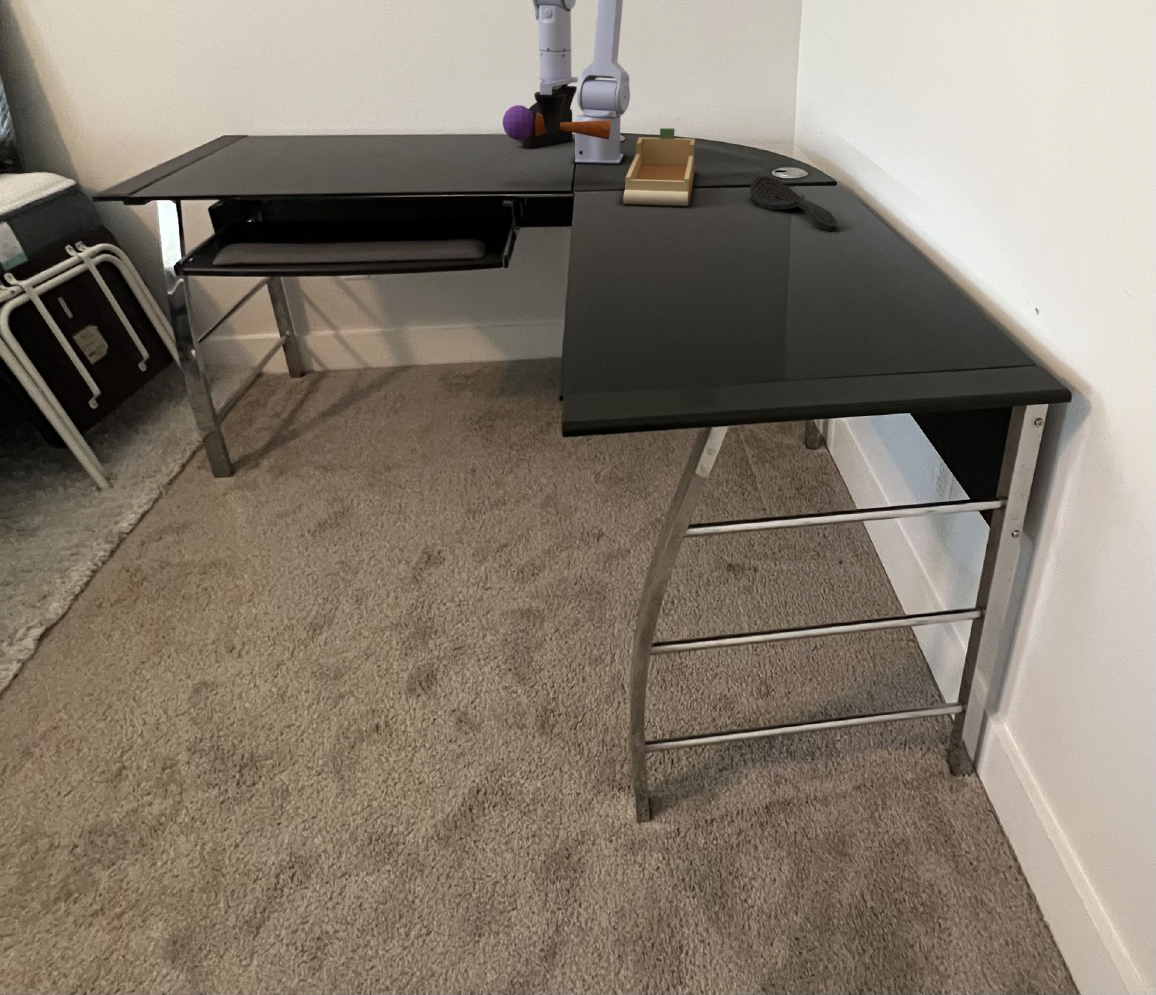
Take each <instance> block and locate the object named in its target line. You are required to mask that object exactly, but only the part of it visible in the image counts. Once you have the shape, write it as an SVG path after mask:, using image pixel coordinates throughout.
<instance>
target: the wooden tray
mask: <svg viewBox="0 0 1156 995" xmlns="http://www.w3.org/2000/svg"><path fill="white" fill-rule="evenodd" d="M675 131H676V130H675V128H673V127H672V128H671V127H670V128H669V127H660V128H659V137H647V136H646V137H642V136H641V137H638V139H637V141H636V144H635V145H636V146H635V147H636V148H635V156H634V158H633V160H632V162H631V164H630V166H629V169H628V171H627V174H626V176H625V182H624V183H625V185H624V188H625V189H624V192H623V194H622V204H623V205H637V206H639V205H640V206H644V205H645V206H664V207H666V206H667V207H668V206H669V207H689V206H690V204H691V203H690V202H691V197H692V190H693V184H694V179H695V173H696V164H694V162H695V145H696V138H684V137H683V138H679V137H678V138H677V137H675Z"/></svg>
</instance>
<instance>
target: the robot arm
mask: <svg viewBox="0 0 1156 995" xmlns="http://www.w3.org/2000/svg"><path fill="white" fill-rule="evenodd" d="M576 2H577V0H532V4H533V7H534V14H535V15H534V16H535V20H536V21H537V22H538V51H539V52H538V53H539V55H538V57H539V77H538V83H539V91H535V92H534V100H535V101H536V102H537V103H538V105H539V108H540V110H541V113H542V117H543V121H544V126H545V130H546V133H547V135H558V134H559V129H560V122H568V118H569V112H570V109H571V105H572V102H573V101H574V98H575V95H576V102H577V105H578V107H579V109H580V111H581V112H582V114H577V115H576V117H575V118H576V119H575V122H583V121H607V120H610V121H611V124H610V136H609V140H608V139H603V138H598V137H593V136H588V135H583V134H578V133H574V146H575V147H574V151H575V152H574V153H575V154H574V155H575V156H574V157H575V159H574V163H577V164H578V163H579V164H580V163H581V164H614V165H615V164H617V165H618V164H619V165H620V163H621V162H622V159H623V158H624V153H621V118H622V117H621V116H623V115H625V113H626V112H627V110H628V108H629V105H630V100H631V99H630V98H631V90H630V75H629V73H628V72H627V70H625V69H624V68H623V66H622V65H620V63H619V61H618V59H619V50H620V49H619V48H620V38H621V26H622V16H623V4H624V0H597V9H596V22H595V35H594V46H593V60H592V61H591V62H590V63H589V64H588V65H587V66H586V67H585V68H583V69H582V70H581V74H580V79H579V78H578V76H572V9H573V8H574V7H575V6H576ZM614 79H615V80H614ZM578 82H579V83H578ZM573 83H575V84H577V83H578V87H577V85H576V86H575V85H571V84H573Z"/></svg>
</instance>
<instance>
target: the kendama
mask: <svg viewBox="0 0 1156 995" xmlns="http://www.w3.org/2000/svg"><path fill="white" fill-rule="evenodd" d="M610 124H611V121H610V120H607V121H583V122H576V121H572V122H560V129H559V130H562V131H568V132H572V134H575V133H578V134H583V135H588V136H593V137H598V138H603V139H608V140H609V136H610ZM502 127H503V131H504V133H505V134H507V136H508V137H509V138H510V139H512V140H514V141H522V140H524V139H527V138H528V137H529V136H530V135H531V134H532V133H533V131H534V128H535V134H536V136H539V135H541V134H544V133H546V130H545V126H544V121H543V117H542V115H541V114H540V113H538V112H537V114H536V119H534V116H533V114H532V112H531V111H530V110H529V108H528V107H526V106H524V105H520V104H516V105H513V106H511V107H509V108H508V109H507V110H506V111H505V113H504V114H503V118H502Z"/></svg>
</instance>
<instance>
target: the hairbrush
mask: <svg viewBox="0 0 1156 995" xmlns="http://www.w3.org/2000/svg"><path fill="white" fill-rule="evenodd" d="M765 173H766V174H768V171H766V172H765ZM762 174H763V175H760V176H758V175H759V172H757V173H755V175H756V177H755V176H753V177H752V181H751V182H750V187H749V191H750V198H751V200H753V201H754V202H755V203H756V204H757V205H758V206H759V207H760V208H764V209H769V210H790V209H801V210H803V211H805V212H806V213H807V214H808V216H809V217H810V219H811V220H812V221H813V222H814V223H815V224H816V225H817V226H818V227H819V228H821V229H823V230H826V231H827V232H834V231H836V228H837V222H838V219H837V218H836V217H835V216H834V215H833V213H832V212H830V211H829V210H827V209H825V208H824V207H822V206H821V205H819V204H816V203H814V202H812V201H810V200H807V199H806V200H805V195H803V194H802V193H801V192H799V190H796V191H795V187H792V185H791V184H789V186H788V185H786V184H785V183H786V181H782V178H781V179H778V178H779V177H780V176H779V175H777V177H776V174H774V175H773V173H772V171H770V176H769V175H765V174H764V171H762ZM774 177H775V178H774ZM796 192H797V193H796ZM798 193H799V194H798ZM800 195H801V196H800Z"/></svg>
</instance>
